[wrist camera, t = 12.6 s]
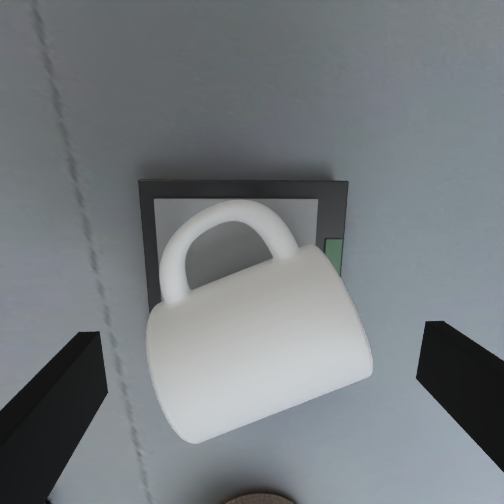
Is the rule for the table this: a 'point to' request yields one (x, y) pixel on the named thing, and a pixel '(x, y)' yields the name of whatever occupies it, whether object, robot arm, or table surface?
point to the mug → (250, 330)
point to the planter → (259, 499)
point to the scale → (237, 224)
